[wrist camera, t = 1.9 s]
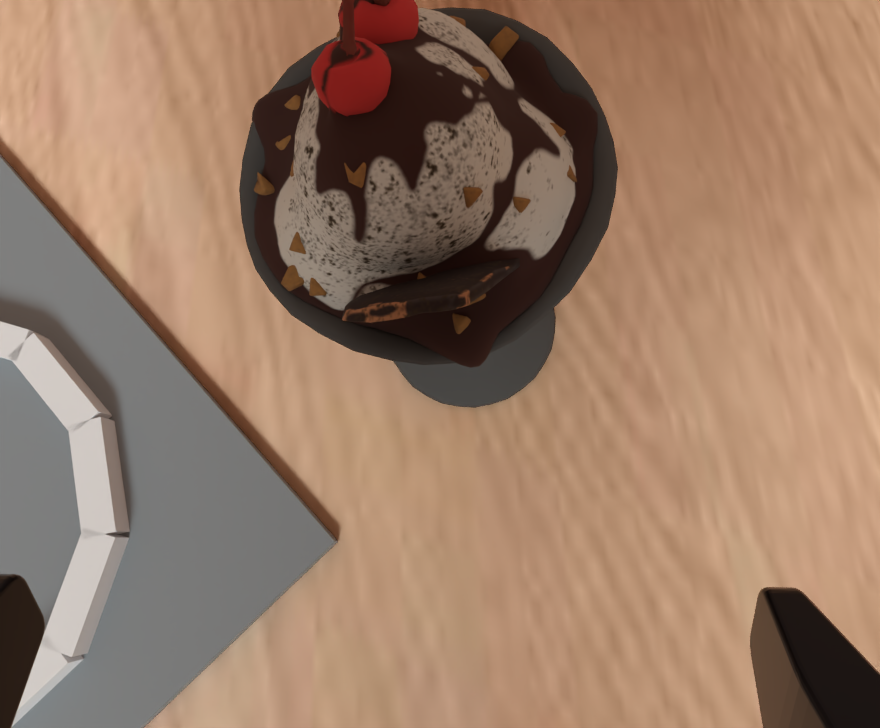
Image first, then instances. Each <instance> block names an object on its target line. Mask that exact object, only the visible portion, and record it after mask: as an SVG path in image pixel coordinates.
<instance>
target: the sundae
mask: <svg viewBox="0 0 880 728" xmlns="http://www.w3.org/2000/svg"><path fill="white" fill-rule="evenodd" d="M338 16H339V22H340V30H339V32H338V33H337V37H336V38H334V39H332V40H330V41H328V42H326V43H324V44H322V45H321V46H319V47H317V48H315V49H314V50H313V51H311V52H310V53H308V54H307V55H306V56H304V57H303V58H302V59H300V60H299V61H297V62H296V63H295V64H293V65H292V66H290V67H289V68H288V69H287V71H286V72H285V73H284V74H283V76H282V77H281V78H280V79H279V81H278V82H277V83H276V85H275V86H274V87H273V88H272V90H271V91H270V92H269V93H268V94H267V95H265V96H264V97H263V98H261V99H260V100H258V102H257V103H256V105H255V107H254V110H253V114H252V121H253V122H252V124H251V127H250V131H249V135H248V139H247V144H246V148H245V152H244V156H243V161H242V171H241V180H240V189H239V190H240V203H241V215H242V223H243V228H244V233H245V238H246V242H247V246H248V249H249V252H250V255H251V258H252V260H253V263H254V266H255V269H256V271H257V272H258V273H259V275H260V276H261V278H262V279H263V281H264V282H265V284H266V285H267V287H268V288H269V290H270V291H271V292H272V294H273V295H274V296H275V297H276V298H277V299H278V300H279V301H280V303H281V304H282V305H283V306H284V307H285V308H286V309H287V310H288V312H289V313H290V314H291V315H292V316H294V317H295V318H297V319H298V320H300V321H301V322H303V323H305V324H306V325H308V326H309V327H311V328H312V329H314V330H315V331H317V332H318V333H320V334H321V335H323V336H325V337H327V338H329V339H331V340H333V341H335V342H337V343H339V344H341V345H343V346H345V347H347V348H349V349H351V350H353V351H356V352H360V353H364V354H368V355H372V356H376V357H380V358H384V359H388V360H392V361H394V362H395V364H396V365H397V367H398V368H399V370H400V372H401V373H402V375H403V376H404V377H405V378H406V379H407V380H408V382H409V383H410V384H411V385H412V386H413V387H414V388H416V389H417V390H419V391H420V392H422V393H423V394H425V395H426V396H428V397H430V398H432V399H434V400H436V401H438V402H440V403H443V404H448V405H453V406H460V407H480V406H485V405H490V404H493V403H496V402H499V401H502V400H505V399H508V398H509V397H511V396H512V395H514V394H515V393H517V392H518V391H520V390H521V389H523V388H524V387H525V386H526V385H527V384H528V383H530V382H531V381H532V380H533V379H534V378H535V377H536V375H537V374H538V372H539V371H540V369H541V368H542V366H543V365H544V363H545V361H546V359H547V357H548V355H549V353H550V351H551V349H552V344H553V338H554V333H555V313H554V307H555V306H556V305H557V304H558V303H559V302H560V301H561V300H562V299H563V298H564V297H565V296H566V295H567V294H568V293H569V292H570V291H571V290H572V288H573V287H574V285H575V284H576V282H577V281H578V279H579V277H580V276H581V274H582V273H583V271H584V270H585V268H586V267H587V265H588V264H589V262H590V261H591V259H592V257H593V255H594V253H595V251H596V249H597V248H598V246H599V244H600V242H601V240H602V238H603V236H604V234H605V232H606V230H607V228H608V225H609V220H610V216H611V211H612V207H613V202H614V198H615V192H616V181H617V170H618V166H617V160H616V154H615V148H614V142H613V138H612V135H611V132H610V129H609V126H608V123H607V120H606V117H605V115H604V113H603V111H602V108H601V106H600V104H599V102H598V100H597V98H596V96H595V94H594V92H593V90H592V88H591V87H590V85H589V84H588V83H587V81H586V80H585V79H584V77H583V76H582V75H581V73H580V72H579V71H578V69H577V68H576V67H575V66H574V64H573V63H572V62H571V61H570V60H569V59H568V58H567V57H566V56H565V55H564V54H563V53H562V52H561V51H560V50H559V49H558V48H557V47H556V46H555V45H554V44H553V43H552V42H551V41H550V40H549V39H548V38H547V37H545V36H543V35H542V34H540V33H538V32H536V31H534V30H533V29H531V28H529V27H527V26H526V25H524V24H522V23H520V22H518V21H516V20H514V19H511V18H508V17H505V16H502V15H499V14H497V13H494V12H491V11H488V10H485V9H467V8H441V9H426V8H418V7H417V5H416V3H415V1H414V0H342V3H341V6H340V9H339V13H338Z"/></svg>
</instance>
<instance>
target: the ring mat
mask: <svg viewBox="0 0 880 728" xmlns="http://www.w3.org/2000/svg"><path fill="white" fill-rule="evenodd" d="M337 542H338V541H337V540H336V538H335V537H334V536H333V535H332V534H331V533H330V532H329V530H328V529H327V528H326V527H325V526H324V525H323V523H322V522H321V521H320V520H319V519H318V518H317V517H316V515H315V514H314V513H313V512H312V511H311V510H310V509H309V507H308V506H307V505H306V504H305V503H304V502H303V501H302V499H301V498H300V497H299V496H298V495H297V494H296V493H295V491H294V490H293V489H292V488H291V487H290V486H289V484H288V483H287V482H286V481H285V480H284V479H283V478H282V476H281V475H280V474H279V473H278V472H277V471H276V470H275V468H274V467H273V466H272V465H271V464H270V463H269V462H268V460H267V459H266V458H265V457H264V456H263V455H262V454H261V452H260V451H259V450H258V449H257V448H256V447H255V445H254V444H253V443H252V442H251V441H250V440H249V439H248V437H247V436H246V435H245V434H244V433H243V432H242V431H241V429H240V428H239V427H238V426H237V425H236V424H235V423H234V421H233V420H232V419H231V418H230V417H229V416H228V415H227V413H226V412H225V411H224V410H223V409H222V408H221V406H220V405H219V404H218V403H217V402H216V401H215V400H214V398H213V397H212V396H211V395H210V394H209V393H208V392H207V390H206V389H205V388H204V387H203V386H202V385H201V384H200V382H199V381H198V380H197V379H196V378H195V377H194V375H193V374H192V373H191V372H190V371H189V370H188V369H187V367H186V366H185V365H184V364H183V363H182V362H181V361H180V359H179V358H178V357H177V356H176V355H175V354H174V353H173V351H172V350H171V349H170V348H169V347H168V346H167V345H166V343H165V342H164V341H163V340H162V339H161V338H160V336H159V335H158V334H157V333H156V332H155V331H154V330H153V328H152V327H151V326H150V325H149V324H148V323H147V322H146V320H145V319H144V318H143V317H142V316H141V315H140V314H139V312H138V311H137V310H136V309H135V308H134V307H133V306H132V304H131V303H130V302H129V301H128V300H127V299H126V297H125V296H124V295H123V294H122V293H121V292H120V291H119V289H118V288H117V287H116V286H115V285H114V284H113V283H112V281H111V280H110V279H109V278H108V277H107V276H106V275H105V273H104V272H103V271H102V270H101V269H100V268H99V267H98V265H97V264H96V263H95V262H94V261H93V260H92V258H91V257H90V256H89V255H88V254H87V253H86V252H85V250H84V249H83V248H82V247H81V246H80V245H79V244H78V242H77V241H76V240H75V239H74V238H73V237H72V236H71V234H70V233H69V232H68V231H67V230H66V229H65V227H64V226H63V225H62V224H61V223H60V222H59V221H58V219H57V218H56V217H55V216H54V215H53V214H52V213H51V211H50V210H49V209H48V208H47V207H46V206H45V205H44V203H43V202H42V201H41V200H40V199H39V198H38V197H37V195H36V194H35V193H34V192H33V191H32V190H31V188H30V187H29V186H28V185H27V184H26V183H25V182H24V180H23V179H22V178H21V177H20V176H19V175H18V174H17V172H16V171H15V170H14V169H13V168H12V167H11V166H10V164H9V163H8V162H7V161H6V160H5V159H4V158H3V156H2V155H1V154H0V574H17V575H20V576H22V577H23V578H24V579H25V580H26V582H27V584H28V586H29V588H30V590H31V592H32V594H33V596H34V598H35V600H36V602H37V604H38V606H39V608H40V610H41V612H42V614H43V616H44V621H45V629H44V635H43V639H42V642H41V644H40V647H39V650H38V653H37V656H36V659H35V661H34V664H33V667H32V670H31V673H30V676H29V679H28V681H27V684H26V687H25V690H24V693H23V696H22V699H21V701H20V704H19V707H18V710H17V713H16V716H15V718H14V721H13V724H12V727H11V728H144V727H145V726H146V725H147V724H148V723H149V722H150V721H151V720H152V719H153V718H154V717H155V716H156V715H157V714H158V713H159V712H160V711H162V710H163V709H164V708H165V707H166V706H167V705H168V704H169V703H170V702H171V701H172V700H173V699H174V698H175V697H176V696H177V695H178V694H179V693H180V692H181V691H182V690H183V689H185V688H186V687H187V686H188V685H189V684H190V683H191V682H192V681H193V680H194V679H195V678H196V677H197V676H198V675H199V674H200V673H201V672H202V671H203V670H204V669H205V668H206V667H208V666H209V665H210V664H211V663H212V662H213V661H214V660H215V659H216V658H217V657H218V656H219V655H220V654H221V653H222V652H223V651H224V650H225V649H226V648H227V647H228V646H229V645H230V644H232V643H233V642H234V641H235V640H236V639H237V638H238V637H239V636H240V635H241V634H242V633H243V632H244V631H245V630H246V629H247V628H248V627H249V626H250V625H251V624H252V623H253V622H255V621H256V620H257V619H258V618H259V617H260V616H261V615H262V614H263V613H264V612H265V611H266V610H267V609H268V608H269V607H270V606H271V605H272V604H273V603H274V602H275V601H276V600H278V599H279V598H280V597H281V596H282V595H283V594H284V593H285V592H286V591H287V590H288V589H289V588H290V587H291V586H292V585H293V584H294V583H295V582H296V581H297V580H298V579H299V578H301V577H302V576H303V575H304V574H305V573H306V572H307V571H308V570H309V569H310V568H311V567H312V566H313V565H314V564H315V563H316V562H317V561H318V560H319V559H320V558H321V557H322V556H324V555H325V554H326V553H327V552H328V551H329V550H330V549H331V548H332V547H333V546H334V545H335V544H336V543H337Z"/></svg>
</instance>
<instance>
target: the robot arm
mask: <svg viewBox="0 0 880 728" xmlns="http://www.w3.org/2000/svg"><path fill="white" fill-rule="evenodd" d="M44 629H45V621H44V616H43V614H42V612H41V610H40V608H39V606H38V604H37V602H36V600H35V598H34V596H33V594H32V592H31V590H30V588H29V586H28V584H27V582H26V580H25V579H24V578H23V577H22V576H20V575H17V574H0V728H11V727H12V724H13V721H14V718H15V716H16V713H17V710H18V707H19V704H20V701H21V699H22V696H23V693H24V690H25V687H26V684H27V681H28V679H29V676H30V673H31V670H32V667H33V664H34V661H35V659H36V656H37V653H38V650H39V647H40V644H41V642H42V639H43V635H44ZM750 649H751V657H752V663H753V669H754V675H755V681H756V687H757V693H758V699H759V705H760V711H761V717H762V723H763V728H880V673H879V672H878V671H877V670H876V669H875V668H874V667H873V666H872V665H871V664H870V663H869V662H868V661H867V660H866V659H865V657H864V656H863V655H862V654H861V653H860V652H859V651H858V650H857V649H856V648H855V647H854V646H853V645H852V644H851V643H850V642H849V641H848V639H847V638H846V637H845V636H844V635H843V634H842V633H841V632H840V631H839V630H838V629H837V628H836V627H835V626H834V625H833V624H832V622H831V621H830V620H829V619H828V618H827V617H826V616H825V615H824V614H823V613H822V612H821V611H820V610H819V609H818V608H817V607H816V606H815V604H814V603H813V602H812V601H811V600H810V599H809V598H808V597H807V596H806V595H805V594H804V593H803V592H802V591H800V590H798V589H796V588H782V587H766V588H763V589H761V591H760V592H759V594H758V598H757V603H756V609H755V614H754V619H753V624H752V629H751V635H750Z"/></svg>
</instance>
